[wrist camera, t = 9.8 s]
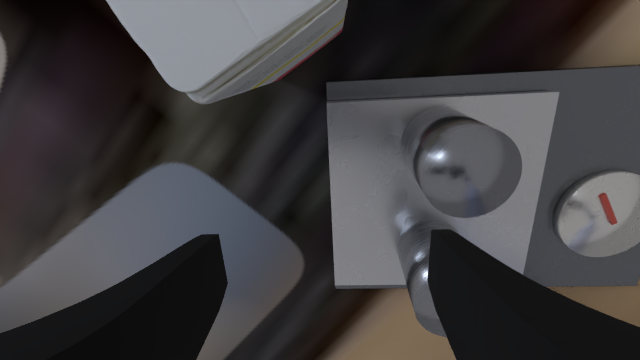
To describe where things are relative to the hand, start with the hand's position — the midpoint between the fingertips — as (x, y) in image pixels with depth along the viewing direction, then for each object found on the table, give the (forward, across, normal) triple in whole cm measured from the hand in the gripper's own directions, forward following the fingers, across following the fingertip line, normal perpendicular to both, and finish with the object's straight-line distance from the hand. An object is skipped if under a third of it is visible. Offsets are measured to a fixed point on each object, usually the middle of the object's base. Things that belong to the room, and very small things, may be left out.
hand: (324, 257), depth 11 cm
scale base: (+10, -10, +2) cm, 15 cm away
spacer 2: (+8, -6, -2) cm, 11 cm away
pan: (+9, -6, +2) cm, 11 cm away
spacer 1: (+8, -6, +5) cm, 12 cm away
